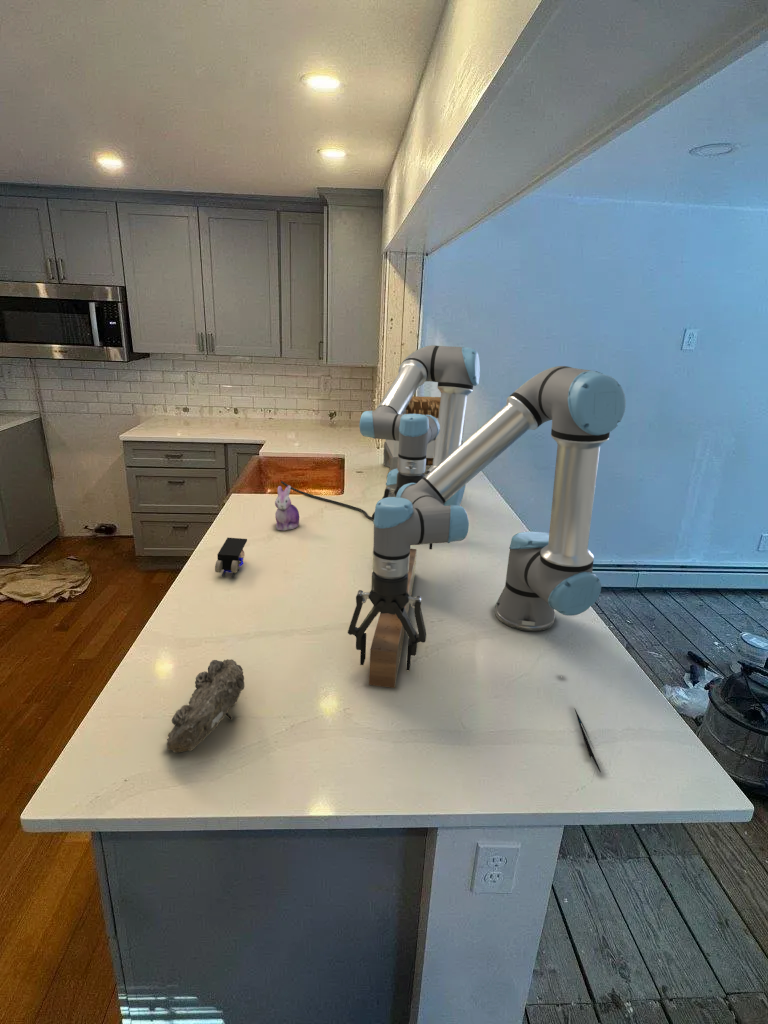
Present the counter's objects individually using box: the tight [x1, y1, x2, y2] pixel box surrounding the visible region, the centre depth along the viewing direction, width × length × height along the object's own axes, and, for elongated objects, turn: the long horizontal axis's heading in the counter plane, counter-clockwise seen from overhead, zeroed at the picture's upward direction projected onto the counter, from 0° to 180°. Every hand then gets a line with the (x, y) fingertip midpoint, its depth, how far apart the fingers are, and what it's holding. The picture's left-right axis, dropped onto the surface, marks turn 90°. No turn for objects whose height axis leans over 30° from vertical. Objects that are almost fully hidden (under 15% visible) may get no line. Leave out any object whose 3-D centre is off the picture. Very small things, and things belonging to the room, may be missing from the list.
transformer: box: [383, 395, 465, 472], centre depth 268 cm, size 34×33×41 cm
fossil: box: [166, 658, 245, 754], centre depth 106 cm, size 22×10×15 cm
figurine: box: [274, 484, 300, 531], centre depth 199 cm, size 9×10×15 cm
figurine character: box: [214, 537, 248, 578], centre depth 166 cm, size 7×8×15 cm
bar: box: [368, 548, 418, 689], centre depth 143 cm, size 54×6×9 cm, turn 173°
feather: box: [561, 676, 602, 773], centre depth 111 cm, size 2×28×2 cm
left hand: (406, 545), depth 159 cm, fingers open, 13 cm apart
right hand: (385, 664), depth 124 cm, fingers open, 9 cm apart
